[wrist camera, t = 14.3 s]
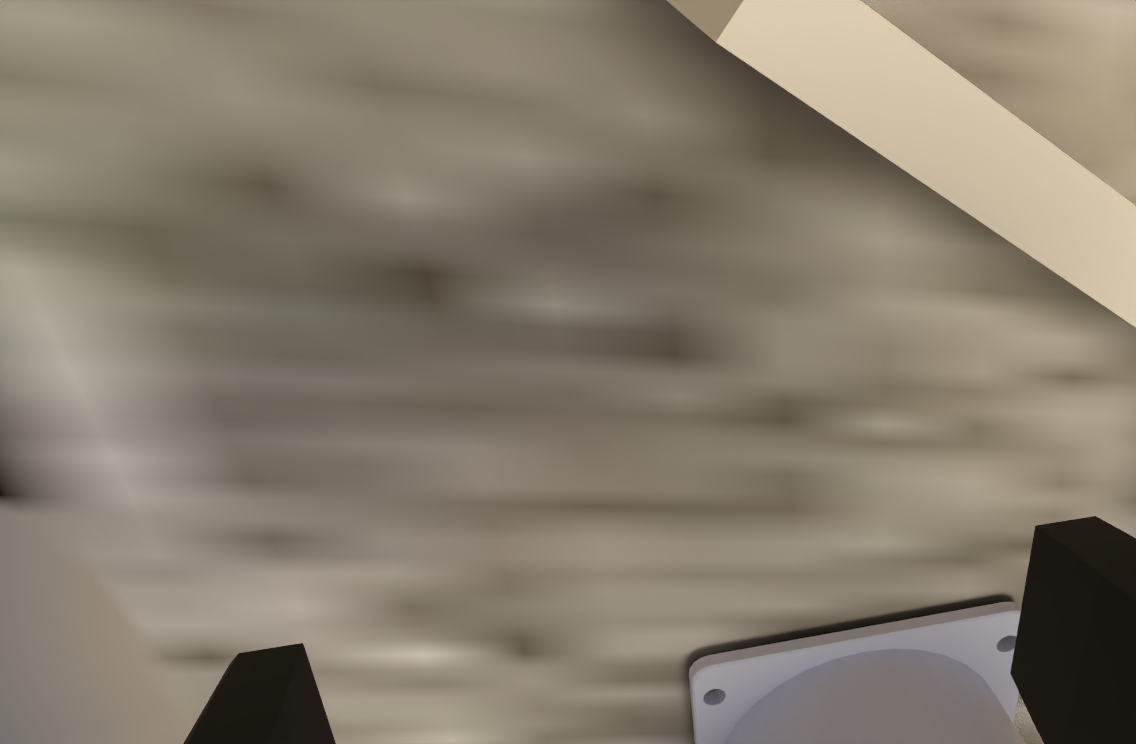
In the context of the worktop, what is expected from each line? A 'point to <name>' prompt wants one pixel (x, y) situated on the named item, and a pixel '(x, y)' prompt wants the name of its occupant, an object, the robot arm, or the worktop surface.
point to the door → (937, 132)
